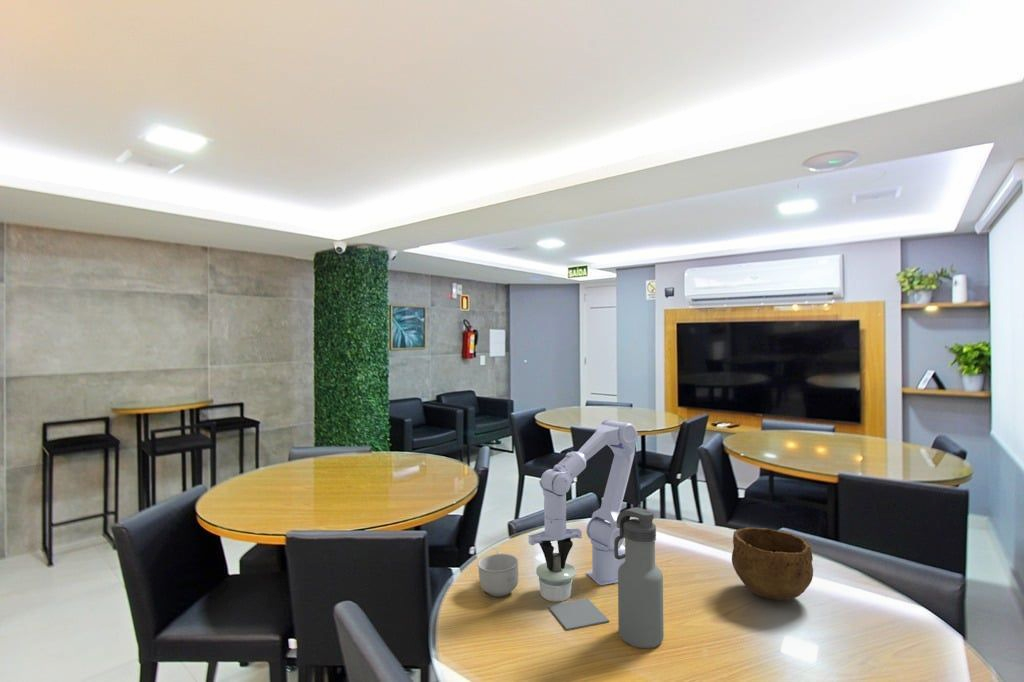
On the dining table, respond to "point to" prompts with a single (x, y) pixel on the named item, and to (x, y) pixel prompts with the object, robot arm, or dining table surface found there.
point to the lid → (556, 570)
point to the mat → (578, 614)
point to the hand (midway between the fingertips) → (555, 568)
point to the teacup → (498, 573)
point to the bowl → (772, 562)
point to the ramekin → (555, 590)
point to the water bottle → (639, 581)
